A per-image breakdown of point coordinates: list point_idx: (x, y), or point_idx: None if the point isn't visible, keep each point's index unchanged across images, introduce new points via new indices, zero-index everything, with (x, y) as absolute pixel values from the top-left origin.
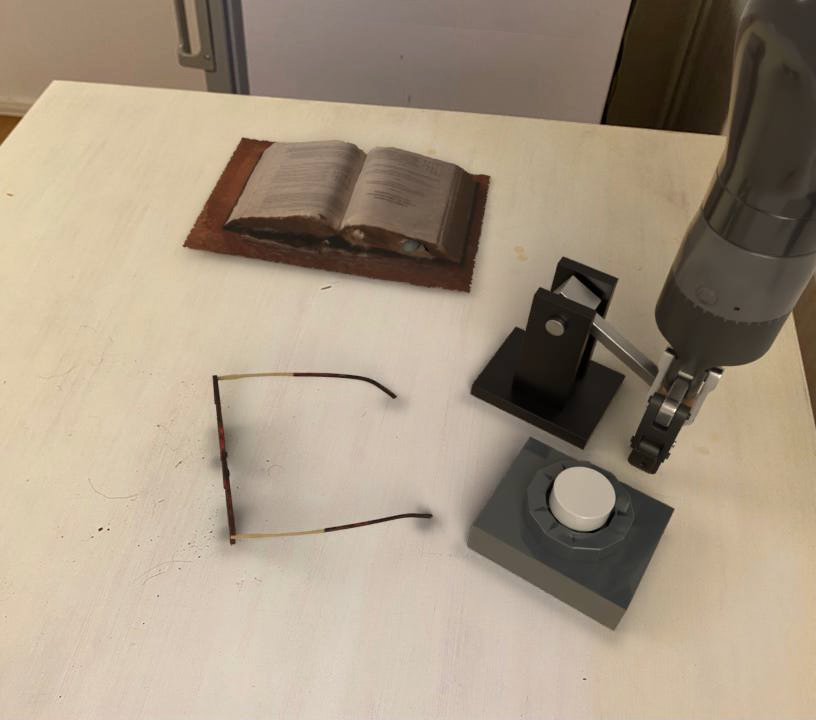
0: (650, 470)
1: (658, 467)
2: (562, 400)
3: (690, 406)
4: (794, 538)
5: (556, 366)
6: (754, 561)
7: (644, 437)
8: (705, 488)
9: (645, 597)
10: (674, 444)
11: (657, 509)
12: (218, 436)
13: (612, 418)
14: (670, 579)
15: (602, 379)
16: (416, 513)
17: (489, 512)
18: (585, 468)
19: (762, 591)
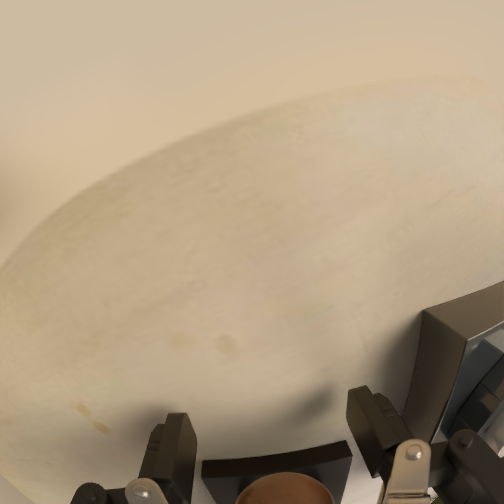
0: (390, 402)
1: (373, 397)
2: None
3: (310, 501)
4: (305, 120)
5: None
6: (395, 166)
7: (451, 480)
8: (308, 303)
9: (494, 270)
10: (420, 451)
11: (473, 355)
12: (433, 501)
13: (268, 448)
14: (471, 259)
15: (233, 487)
16: None
17: None
18: (499, 454)
19: (428, 141)
